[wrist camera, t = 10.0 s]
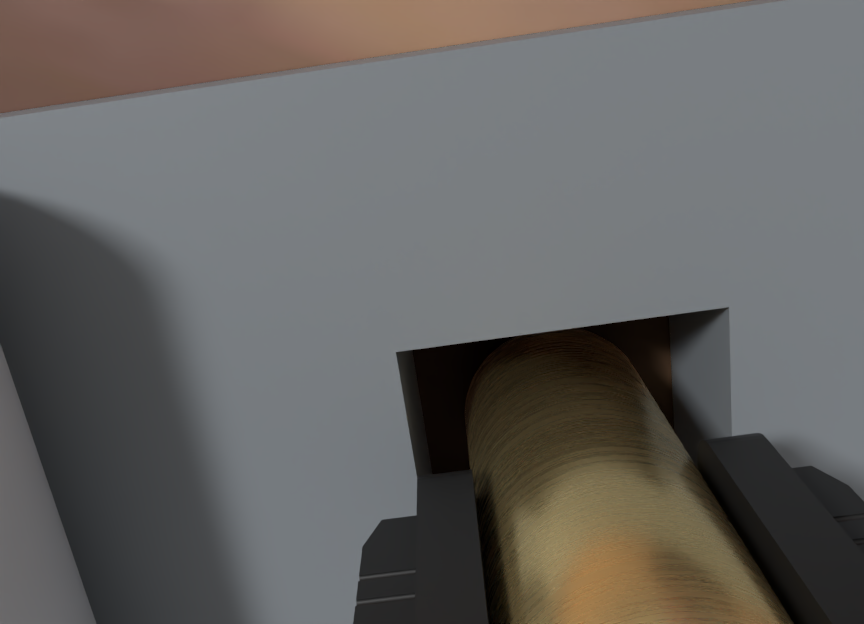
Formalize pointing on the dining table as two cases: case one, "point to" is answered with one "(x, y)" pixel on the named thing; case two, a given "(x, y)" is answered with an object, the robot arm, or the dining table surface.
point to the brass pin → (596, 497)
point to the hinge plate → (402, 287)
